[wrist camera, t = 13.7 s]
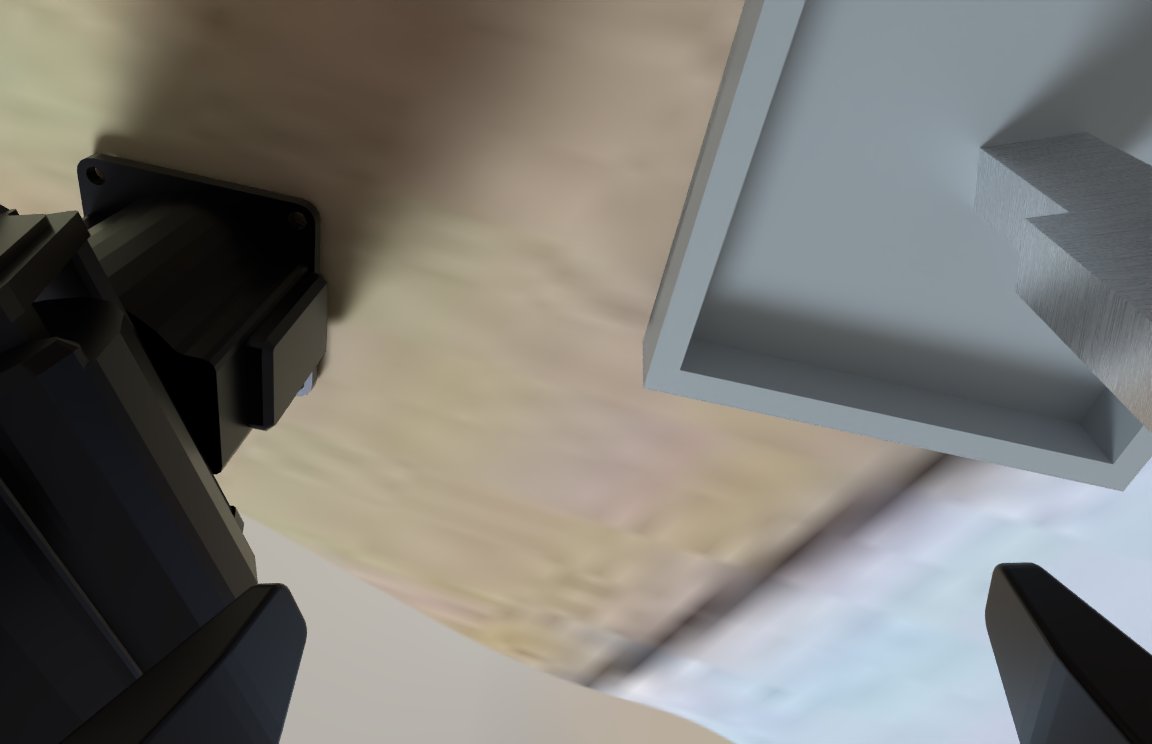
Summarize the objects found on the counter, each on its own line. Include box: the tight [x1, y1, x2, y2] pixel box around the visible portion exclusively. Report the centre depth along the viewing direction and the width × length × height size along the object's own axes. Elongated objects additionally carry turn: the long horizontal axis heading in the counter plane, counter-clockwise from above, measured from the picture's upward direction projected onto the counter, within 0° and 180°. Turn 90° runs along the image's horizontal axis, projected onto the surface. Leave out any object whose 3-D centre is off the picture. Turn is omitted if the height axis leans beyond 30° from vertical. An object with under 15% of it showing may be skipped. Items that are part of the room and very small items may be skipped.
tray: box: [643, 0, 1152, 491], centre depth 18 cm, size 14×14×2 cm
